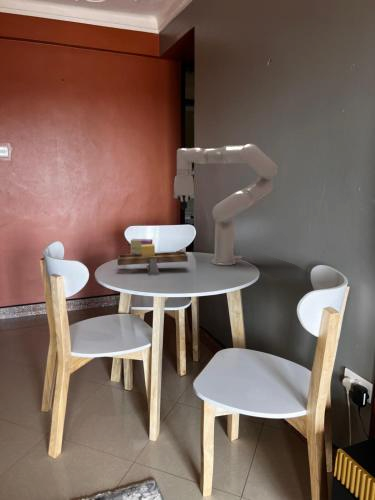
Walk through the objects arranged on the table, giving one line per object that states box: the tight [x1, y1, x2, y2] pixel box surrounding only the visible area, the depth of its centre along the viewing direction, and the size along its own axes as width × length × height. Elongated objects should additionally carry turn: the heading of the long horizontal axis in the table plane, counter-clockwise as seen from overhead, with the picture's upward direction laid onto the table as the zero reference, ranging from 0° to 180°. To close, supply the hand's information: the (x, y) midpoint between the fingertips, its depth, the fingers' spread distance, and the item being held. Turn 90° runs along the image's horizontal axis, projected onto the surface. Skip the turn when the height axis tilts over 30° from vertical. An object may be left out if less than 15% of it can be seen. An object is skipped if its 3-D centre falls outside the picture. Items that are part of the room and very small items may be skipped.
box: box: [130, 238, 153, 254], centre depth 196 cm, size 10×6×12 cm, turn 84°
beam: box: [117, 251, 189, 266], centre depth 178 cm, size 32×10×3 cm, turn 97°
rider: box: [141, 243, 156, 258], centre depth 177 cm, size 6×5×6 cm
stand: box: [146, 258, 160, 276], centre depth 178 cm, size 5×17×7 cm, turn 7°
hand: (183, 209), depth 196 cm, fingers closed
